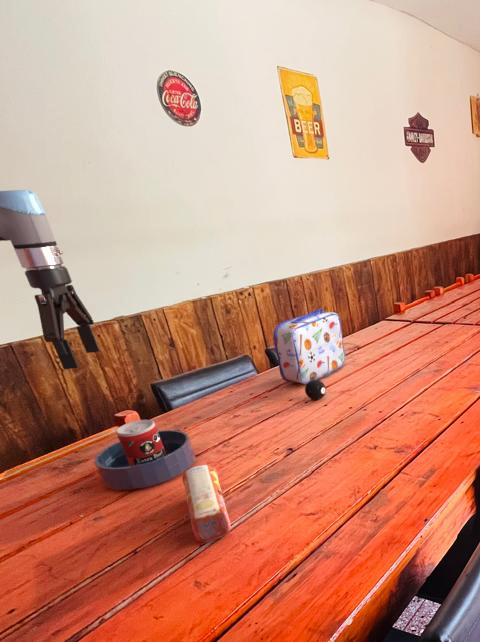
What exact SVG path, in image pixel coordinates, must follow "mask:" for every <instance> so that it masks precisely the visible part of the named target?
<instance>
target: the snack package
mask: <svg viewBox="0 0 480 642" xmlns="http://www.w3.org/2000/svg"><path fill="white" fill-rule="evenodd" d="M182 483H183V486H184V490H185V491H184V492H185V498H186V502H187V507H188V512H189V515H190V516H189V518H190V524H191V528H192V529H191V530H192V532H193V535H194V536H195V539H196V540H197V541H199V542H200V543H206V544H207V543H209V542H213V541H214V540H215V541H216V540H218V539H220V538H223V537H225V536H227V535H228V534H229V532H230V530H231V528H232V527H231V526H232V525H231V520H230V518H229V514H228V510H227V506H226V503H225V500H224V495H223V491H222V488H221V485H220V479H219V474H218V471H217V469H216V468H215V467H214V466H212V465H210V464H202V465H197V466H193V467H189V468H188V469H186V470H185V471H184V472H183V475H182Z"/></svg>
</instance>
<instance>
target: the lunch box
mask: <svg viewBox="0 0 480 642" xmlns="http://www.w3.org/2000/svg"><path fill="white" fill-rule="evenodd" d="M272 337H273V344H274V349H275V353H276V358H277V363H278V368H279V373H280V377H281V379H282V380H283V381H284V382H287V383H288V382H294V383H299V384H302V385H303V384H304V385H306V384H307V383H308V382H310V381H312V380H319V379H321V378H323V377H326V376H329V375H330V374H331V373H332V372H334V371H336V370H338V369H340V368H341V367H343V366H344V364H345V361H346V352H345V346H344V340H343V339H344V338H343V331H342V323H341V318H340V316H339V313H336V312H331V311H330V312H329V311H324V309H323V308H316V309H315V310H314V311H312V312H310V313H307V314H304V315H301V316H297V317H294V318H291V319H288V320H284V321H283V322H280V323H279V324H278V325H276V326H275V327H274V329H273V332H272Z"/></svg>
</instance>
